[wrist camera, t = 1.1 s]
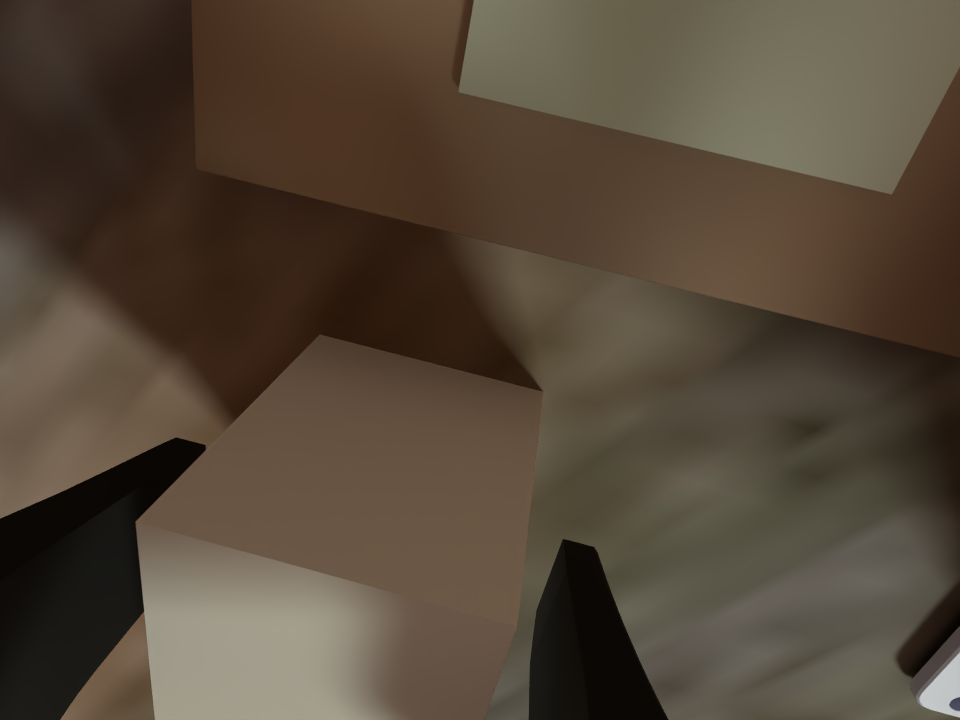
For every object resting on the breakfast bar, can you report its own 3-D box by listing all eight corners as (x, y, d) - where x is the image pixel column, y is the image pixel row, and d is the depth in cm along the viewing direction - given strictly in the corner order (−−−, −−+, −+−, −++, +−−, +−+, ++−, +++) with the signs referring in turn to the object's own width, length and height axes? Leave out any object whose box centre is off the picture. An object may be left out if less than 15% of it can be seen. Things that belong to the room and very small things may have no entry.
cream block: (543, 390, 13) (517, 627, 7) (493, 555, 15) (446, 825, 10) (320, 333, 13) (135, 522, 7) (306, 504, 15) (157, 741, 10)
